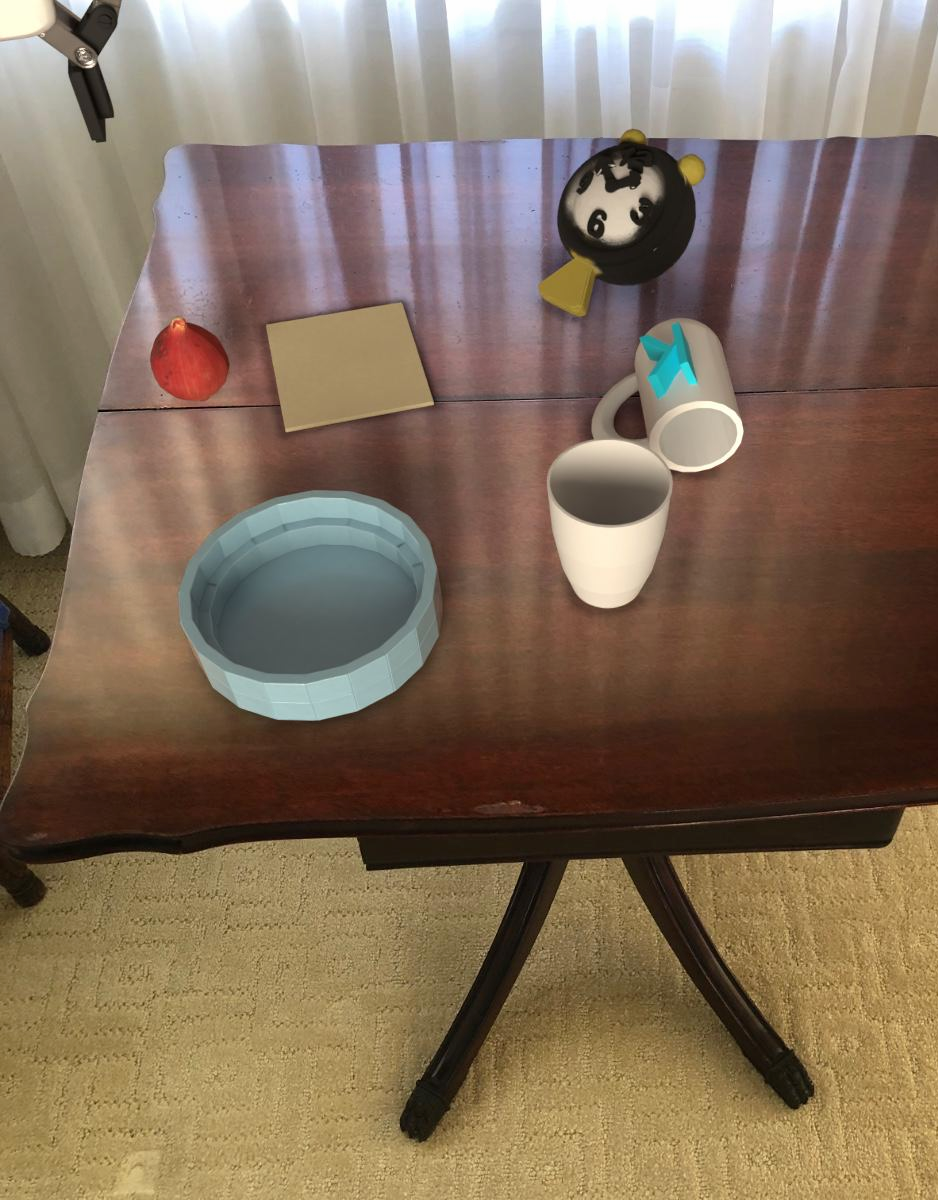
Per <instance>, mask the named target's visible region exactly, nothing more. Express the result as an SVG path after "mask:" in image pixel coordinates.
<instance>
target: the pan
mask: <svg viewBox="0 0 938 1200" xmlns="http://www.w3.org/2000/svg"><path fill="white" fill-rule="evenodd" d="M441 590H442V589H441V584H440V578H439V570H438V566H437V562H436V558H435V555H434V552H433V548H432V544H431V541H430V539H429V538H428V536H426V534H425V533H424V532H423V530H422V529H421V528H420V527H419V526H418V524H417V523H416V521H415V520H414V519H413V518H412V517H411V516H410V515H408V514H407V513H405V512H403V511H402V510H400V509H398V508H397V507H395V506H394V505H392V504H391V503H388V502H387V501H385V500H383V499H381V498H377V497H375V496H370V495H367V494H362V493H359V492H356V491H351V490H330V489H329V490H327V489H326V490H324V489H321V490H320V489H312V490H306V491H301V492H296V493H290V494H286V495H281V496H276V497H272V498H270V499H268V500H265V501H263V502H261V503H258V504H255V505H254V506H252V507H251V506H250V507H249V508H247V509H244V510H242V511H240V512H238V513H237V514H235V515H234V516H233V517H231V518H230V519H229V520H227V521H226V522H225V523H223V524H222V525H220V526H219V527H218V528H217V529H215V530H214V531H212V532H211V533H210V534H209V535H208V536H206V539H204V540H203V542H202V544H200V546H199V547H198V549H197V550H196V551H195V552H194V554H193V555H192V557H191V558H190V559H189V560H188V562H187V564H186V568H185V570H184V573H183V576H182V579H181V582H180V584H179V588H178V591H177V601H178V613H179V614H178V615H179V624H180V626H181V629H182V631H183V633H184V635H185V638H186V639H187V641H188V645H189V647H190V649H191V650H192V653H193V655H194V657H195V659H196V661H197V663H198V665H199V666H200V668H201V671H202V672H203V673H204V675H205V677H206V679H207V681H208V682H209V684H210V686H211V687H212V689H214V690H215V691H217V693H219V694H220V695H222V696H223V697H224V698H225V699H227V700H228V701H230V702H231V703H233V704H234V705H235V706H236V707H237V708H239V709H243V710H245V711H248V712H251V713H254V714H257V715H260V716H263V717H267V718H269V719H273V720H276V721H277V720H278V721H312V722H313V721H314V722H315V721H322V720H326V719H332V718H334V717H339V716H343V715H347V714H351V713H356V712H359V711H361V710H363V709H365V708H367V707H369V706H370V705H372V704H374V703H377V702H378V701H380V700H382V699H384V698H386V697H388V696H389V695H392V694H393V693H394V692H396V691H398V689H400V688H401V687H402V686H403V685H404V684H405V683H406V682H407V681H408V680H409V679H410V678H411V677H413V676H414V674H416V673H417V672H418V671H419V670H420V669H421V668H422V667H423V666H424V664H425V662H426V660H427V659H428V656H429V655H430V653H431V651H432V649H433V648H434V646H435V644H436V642H437V640H438V638H439V637H440V631H441V624H442V618H443V617H442V616H443V609H444V604H443V597H442V596H443V595H442V591H441Z"/></svg>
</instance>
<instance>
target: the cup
mask: <svg viewBox="0 0 938 1200" xmlns="http://www.w3.org/2000/svg"><path fill="white" fill-rule="evenodd" d="M625 439H626V438H625ZM625 439H618V438H600V439H594V438H593V439H589V440H588V439H587V440H585V441H584V440H583V441H582V442H579V443H576V444H574V445H572V446H570V447H568V448H567V449H565V450H564V451H563V452H562V453H560V454H559V455H558V456H557V457H556V458H555V459H554V461H553V462H552V463H551V465H550V467H549V469H548V472H547V476H546V490H547V499H548V506H549V514H550V523H551V531H552V535H553V538H554V542H555V546H556V548H557V553H558V557H559V560H560V561H559V562H560V565H561V568H562V570H563V572H564V574H565V576H566V577H567V580H568V582H569V583H570V586H571V587H572V589H573V591H574V593H575V595H576V596H577V597H578V598H579V599H580V600H582V601H583V602H584V603H586V604H588V605H589V606H593V607H595V608H602V609H614V608H619V607H622V606H626V605H627V604H630V603H631V602H632V601H634V599H635V598H636V597H637V596H638V595H639V593H640V592H641V590H642V588H643V587H644V586H645V583H646V582H647V580H648V579H649V577H650V575H651V574H652V571H653V569H654V567H655V564H656V560H657V557H658V554H659V553H660V549H661V545H662V543H663V539H664V536H665V533H666V527H667V522H668V516H669V510H670V504H671V498H672V493H673V488H674V487H673V486H674V481H673V475H672V472H671V469H669V467H668V466H667V464H666V463H665V461H664V460H663V459H662V458H661V457H660V456H659V455H658V454H657V453H655V452H654V451H652V450H651V449H649V448H648V447H646V446H644V445H641V444H639V443H636V442H633V441H629V440H625Z"/></svg>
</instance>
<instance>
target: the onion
mask: <svg viewBox="0 0 938 1200" xmlns="http://www.w3.org/2000/svg"><path fill="white" fill-rule="evenodd" d="M229 359H230V358H229V355H228V353H227V350H226V349H225V347H224V345H223V344H222V342H221V340H220V339H219V338H218V337H217V335H216V334H214V333H213V332H212V331H210V330H208V329H206V328H205V327H203V326H201V325H198V324H195V323H192V322H187V321H186V318H184V317H183V316H182V315H181V316H180V315H176V316H174V318H172V320H171V321H170V323H169V324H168V325H167V326H166V327H164V328H163V329H162V330H160V332H159V333H158V334H157V335H156V337H155V339H154V341H153V344H152V347H151V350H150V355H149V363H150V368H151V369H150V370H151V371H152V374H153V377H154V379H155V381H156V383H157V384H158V386H159V388H160V389H162V390H163V391H165V392H166V393H167V394H169V395H171V396H173V397H174V398H175V399H179V400H182V401H191V402H206V401H207V400H208V401H209V399H210V398H211V397H212V396H214V395H215V394H217V393H218V392H219V390H220V389H222V387H223V386H224V384H225V383H226V382H227V379H228V375H229V371H230V361H229Z"/></svg>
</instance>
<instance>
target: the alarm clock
mask: <svg viewBox="0 0 938 1200" xmlns="http://www.w3.org/2000/svg"><path fill="white" fill-rule="evenodd" d="M706 171H707V167H706V164H705V161H704V160H703V159H702V158H701V157H700V156H698V155H697V154H694V153H688V154H684V155H683V156H682V157H680V158H679V160H678V159H675V157H674V156H673V155H672V154H670V153H668V152H667V151H666V150H663V149H661V148H659V147H656V146H652V145H649V144H648V138H647V136H646V135H645V134H644V132H643V131H642V130H640V129H638V128H630V129H627V130H625V131H624V132H623V134H621V137H620V138H619V140H618V144H615V145H613V146H609V147H606V148H604V149H602V150H600V151H597V152H596V153H595V154H594V155H592V156H590V157H589V158H588V159H585V161H584V162H583V163H582V164H580V166H579V167H577V169H576V170H575V171H574V172H573V173H572V174H571V176H570V177H569V179H568V181H567V183H566V184H565V186H564V188H563V190H562V193H561V196H560V198H559V201H558V202H559V203H558V207H557V215H556V219H557V220H556V225H557V226H556V227H557V231H558V236H559V240H560V242H561V244H562V246H563V248H564V250H566V252H567V254H568V255H569V256H570V258H571V260H570V261H568V262H567V263H566V264H564V265H563V266H561V267H560V268H559V269H557V270H556V271H555V272H553V273H552V274H551V275H549V276H548V277H546V278H545V279H544V280H542V281H541V282H540V283H538V285H537V290H538V292H539V294H540V296H541V297H542V299H544V300H545V301H546V302H548V303H550V304H551V305H553V306H555V307H557V308H559V309H561V310H563V311H565V312H567V313H569V314H571V315H573V316H576V317H584V316H586V315H587V314H588V310H589V307H590V302H591V297H592V294H593V290H594V289H593V288H594V285H595V280H596V279H597V280H599V281H600V282H601V281H602V282H603V283H606V284H610V285H616V286H636V285H641V284H644V283H647V282H650V281H652V280H654V279H657V278H658V277H660V276H662V275H664V274H665V273H666V272H668V271H669V270H670V269H671V268H672V267H673V266H674V265H675V264H676V263H677V262H678V261H679V260H680V259H681V258H682V256H683V254H684V253H685V252H686V249H687V248H688V246H689V244H690V242H691V240H692V236H693V233H694V230H695V225H696V218H697V205H696V204H697V203H696V195H695V192H694V188H693V187H695V186H697V185H698V184H700V183H701V182H702V180H703V179H704V178H705V175H706Z"/></svg>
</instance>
